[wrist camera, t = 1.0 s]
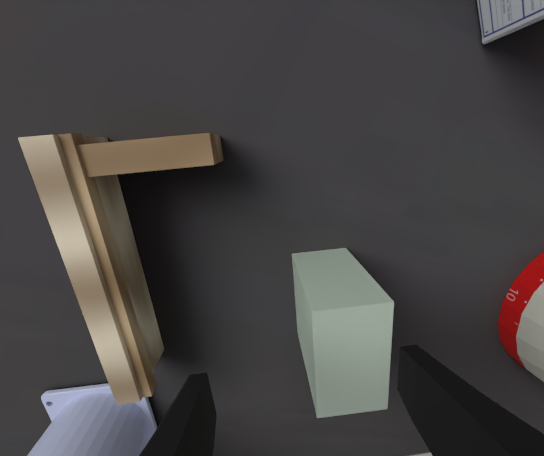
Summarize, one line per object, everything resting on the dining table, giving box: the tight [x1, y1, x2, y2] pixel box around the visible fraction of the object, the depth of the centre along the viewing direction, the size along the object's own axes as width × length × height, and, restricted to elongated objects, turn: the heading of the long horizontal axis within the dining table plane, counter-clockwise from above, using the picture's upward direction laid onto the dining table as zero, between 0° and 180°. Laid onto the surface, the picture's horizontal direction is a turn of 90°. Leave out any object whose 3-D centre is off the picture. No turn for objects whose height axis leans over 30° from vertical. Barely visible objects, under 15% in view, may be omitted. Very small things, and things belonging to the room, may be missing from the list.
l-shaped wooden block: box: [18, 133, 224, 405], centre depth 16 cm, size 16×8×4 cm, turn 5°
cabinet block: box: [292, 248, 394, 418], centre depth 17 cm, size 7×4×7 cm, turn 5°
